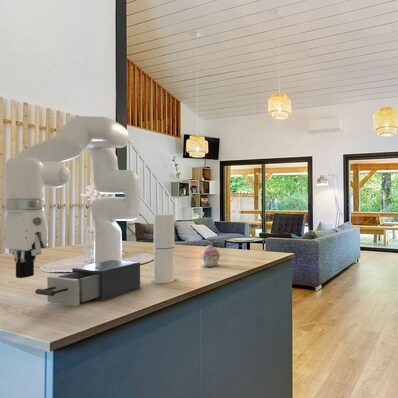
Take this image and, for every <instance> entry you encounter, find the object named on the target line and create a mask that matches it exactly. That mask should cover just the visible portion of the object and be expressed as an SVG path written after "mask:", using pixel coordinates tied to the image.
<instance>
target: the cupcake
mask: <svg viewBox="0 0 398 398" xmlns="http://www.w3.org/2000/svg"><path fill="white" fill-rule="evenodd" d="M220 257H221V254H220V251H219V250H218V248H217V247H215V246H213V245H212V243H211V244H208V245H207V246H205V247H204V249H202V252H201V254H200V255H199V258H200V260H201V264H202V267H203V268H214V267H217V266H218V264H219V259H220Z"/></svg>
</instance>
